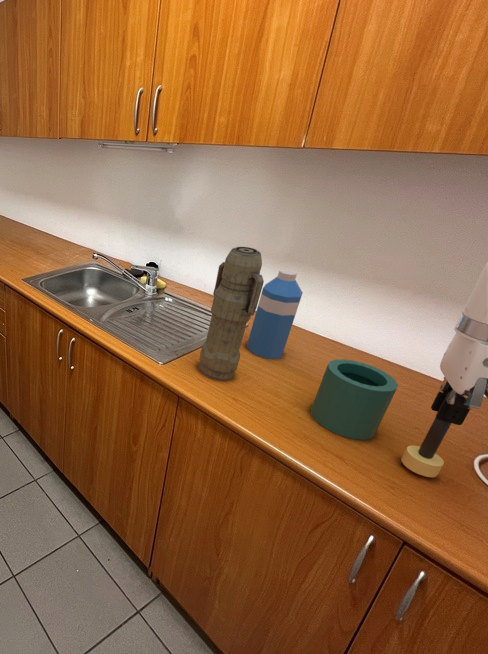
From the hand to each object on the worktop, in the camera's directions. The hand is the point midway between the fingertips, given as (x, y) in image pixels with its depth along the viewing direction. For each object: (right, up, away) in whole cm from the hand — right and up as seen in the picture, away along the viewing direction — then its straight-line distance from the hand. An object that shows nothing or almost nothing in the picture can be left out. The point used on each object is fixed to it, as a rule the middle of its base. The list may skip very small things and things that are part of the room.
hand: (445, 416), depth 72 cm
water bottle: (-2, +4, +44) cm, 44 cm away
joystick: (0, -12, +5) cm, 13 cm away
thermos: (-22, 0, +35) cm, 42 cm away
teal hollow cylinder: (-4, -7, +17) cm, 19 cm away
